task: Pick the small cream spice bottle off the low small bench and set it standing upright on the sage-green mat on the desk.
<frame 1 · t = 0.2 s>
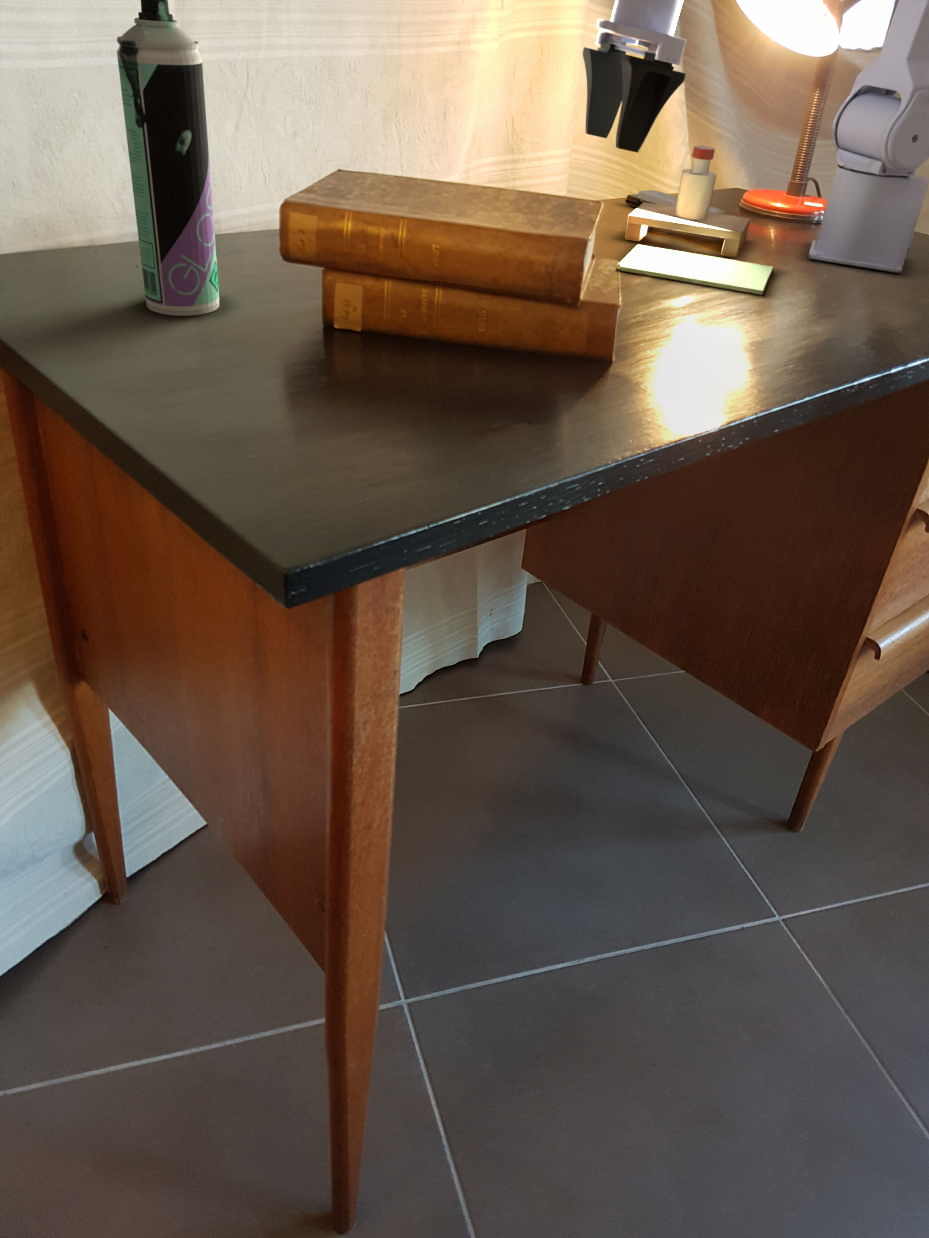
hand: (610, 143, 89), 10 cm above the table, tool pointing down, fingers open, 7 cm apart
spray can: (183, 307, 74), on the table
mat: (695, 270, 94), on the table
spice bottle: (690, 216, 103), point 2 cm above the table, touching small bench
harmonica: (675, 219, 114), on the table
small bench: (685, 240, 104), on the table
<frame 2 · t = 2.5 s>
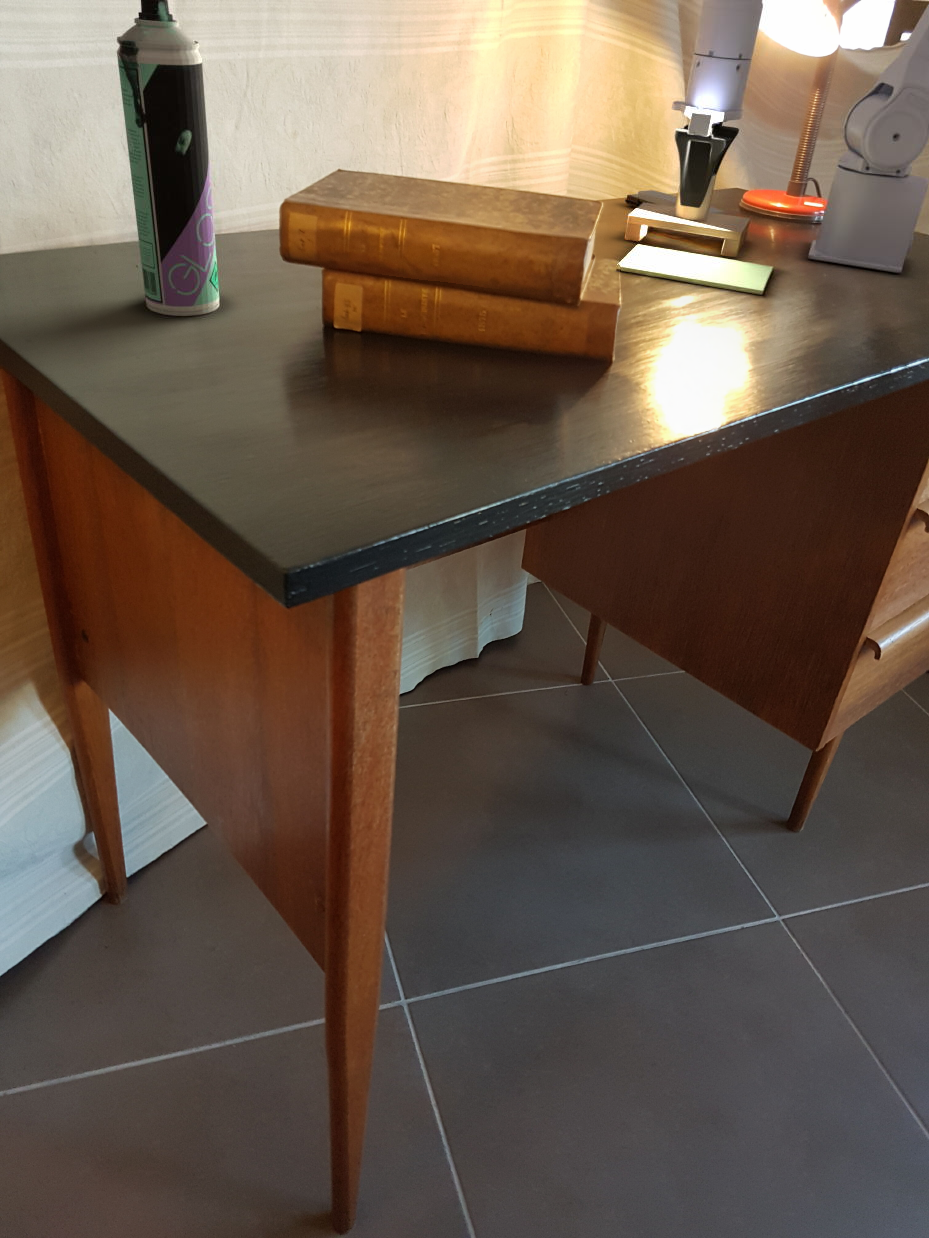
hand: (693, 203, 102), 4 cm above the table, tool pointing down, fingers closed on spice bottle, 3 cm apart
spice bottle: (690, 216, 103), point 3 cm above the table, touching gripper, small bench
everything else where it was.
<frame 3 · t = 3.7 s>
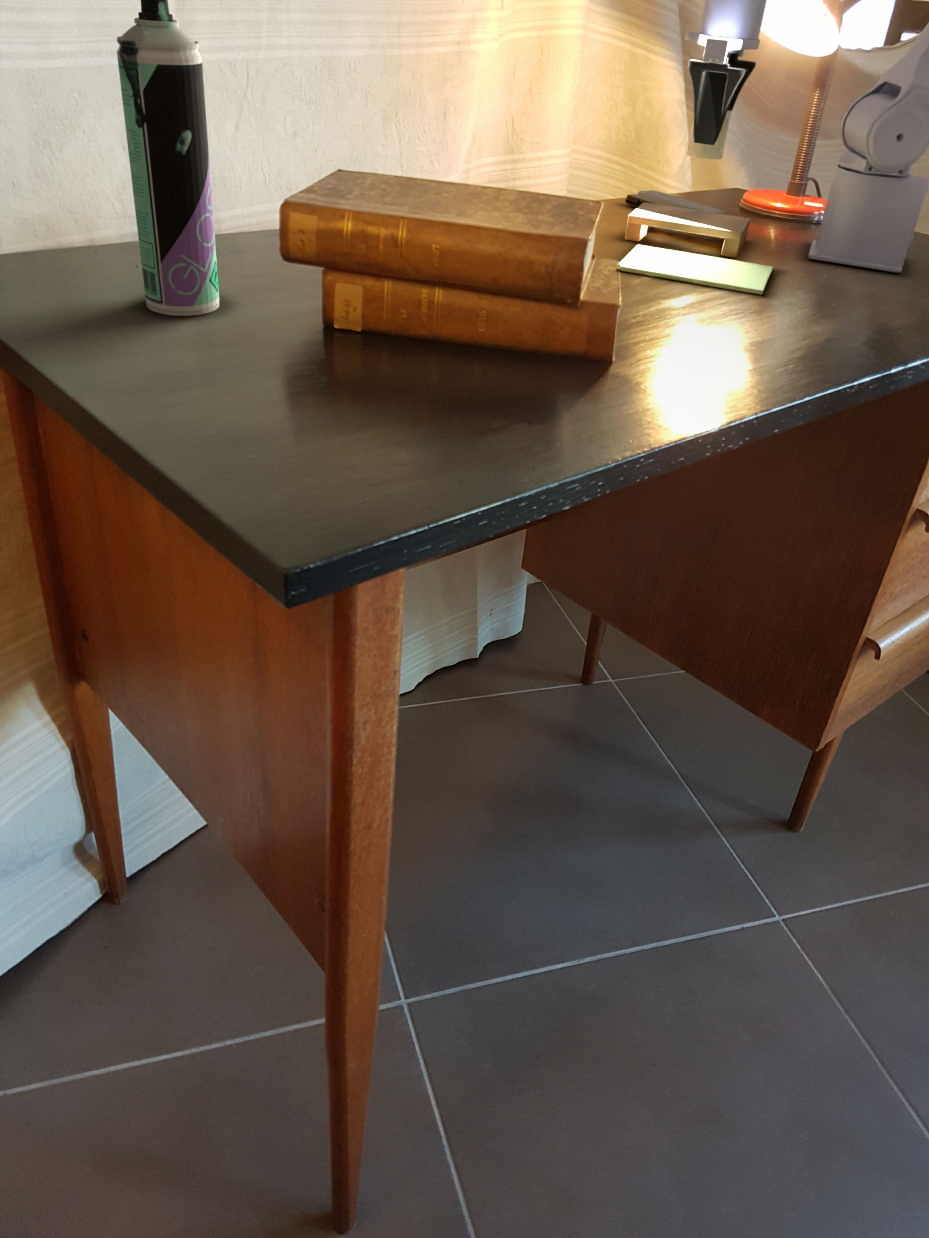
hand: (707, 141, 97), 10 cm above the table, tool pointing down, fingers closed on spice bottle, 3 cm apart
spice bottle: (704, 156, 98), point 9 cm above the table, touching gripper
everything else where it was.
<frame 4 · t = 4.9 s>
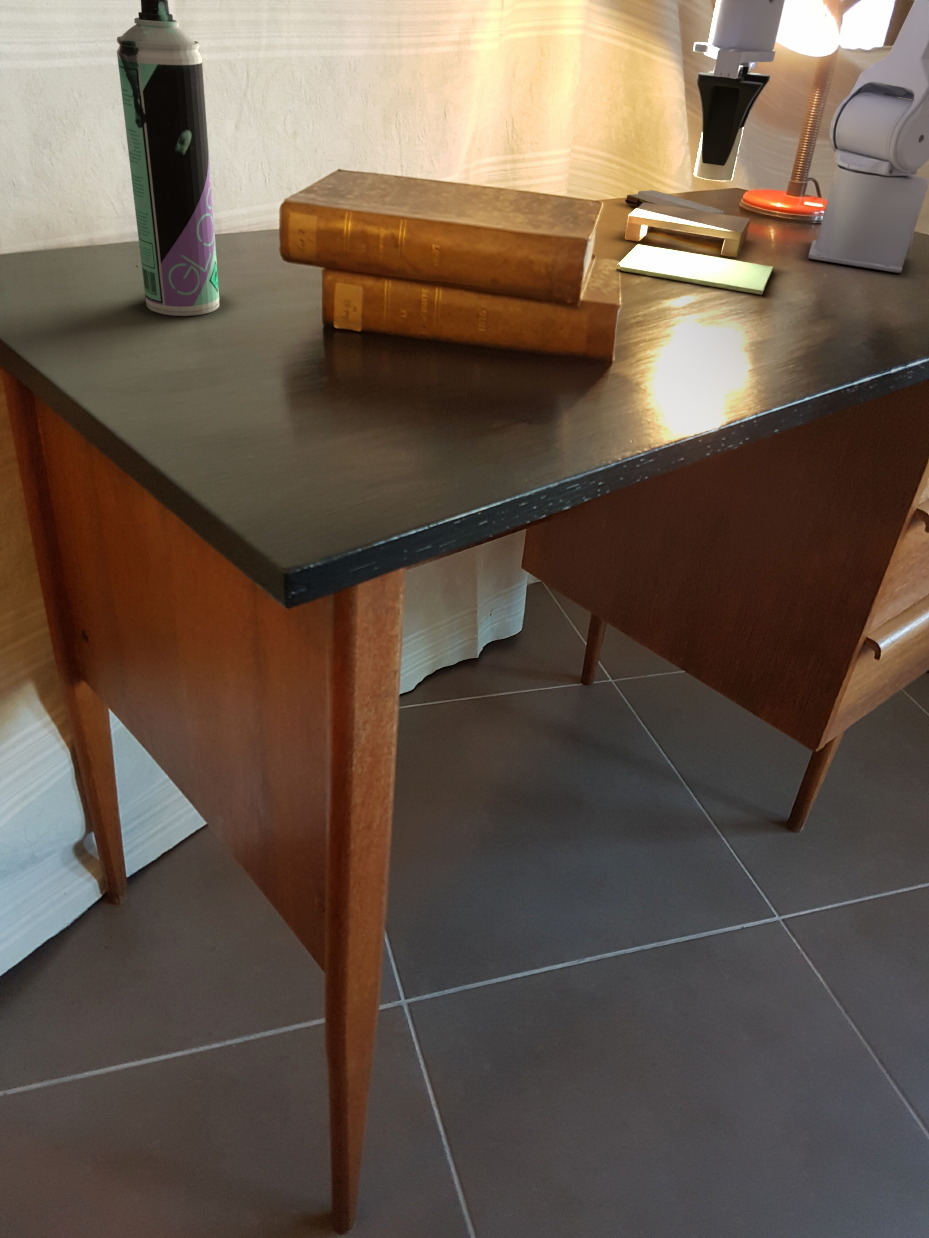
hand: (716, 161, 89), 10 cm above the table, tool pointing down, fingers closed on spice bottle, 3 cm apart
spice bottle: (712, 177, 90), point 8 cm above the table, touching gripper
everything else where it was.
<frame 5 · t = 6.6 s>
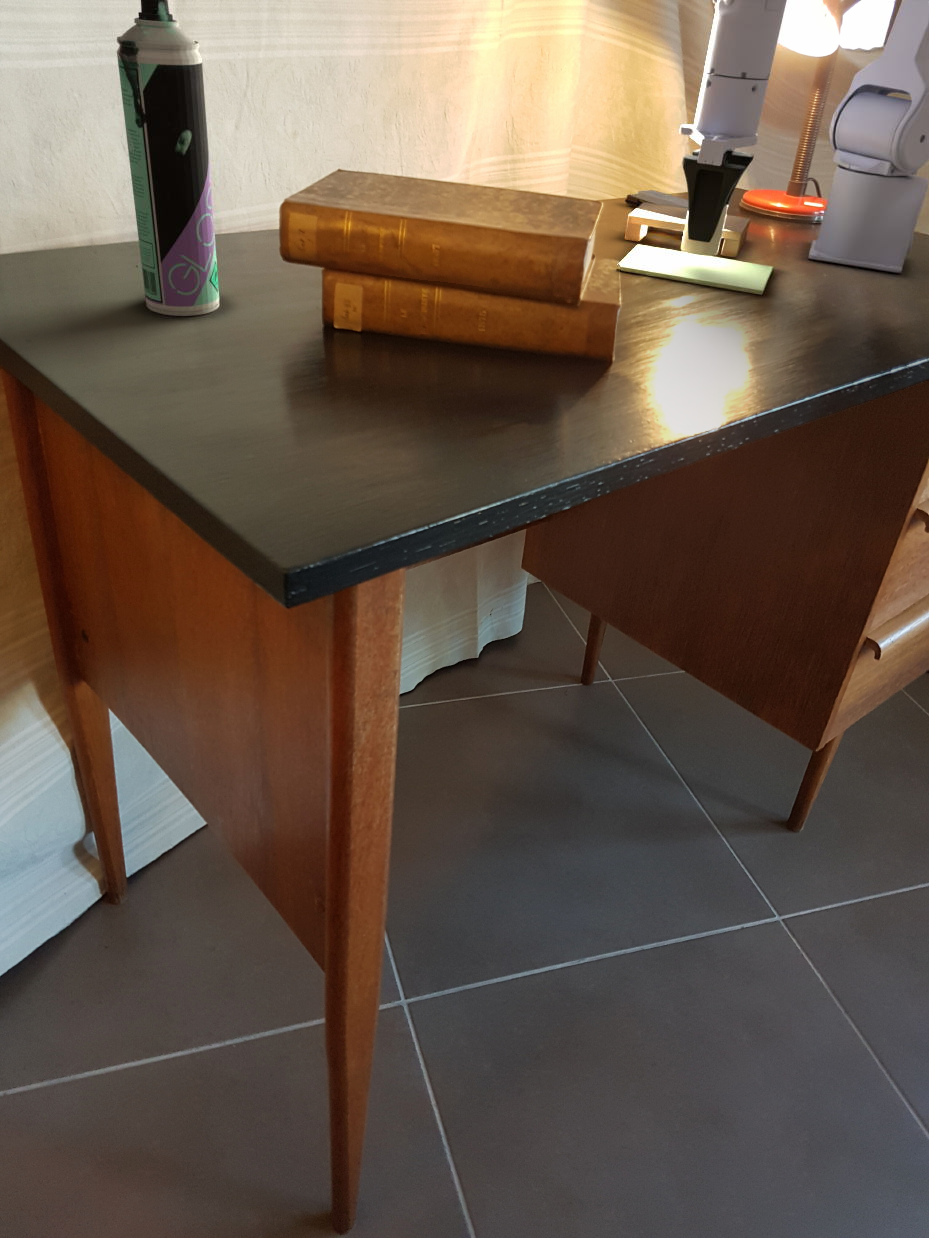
hand: (702, 236, 92), 3 cm above the table, tool pointing down, fingers closed on spice bottle, 3 cm apart
spice bottle: (699, 251, 93), point 2 cm above the table, touching gripper
everything else where it was.
when the fingers open (2 cm above the table, at t = 7.5 s): spice bottle stays where it is, resting on mat.
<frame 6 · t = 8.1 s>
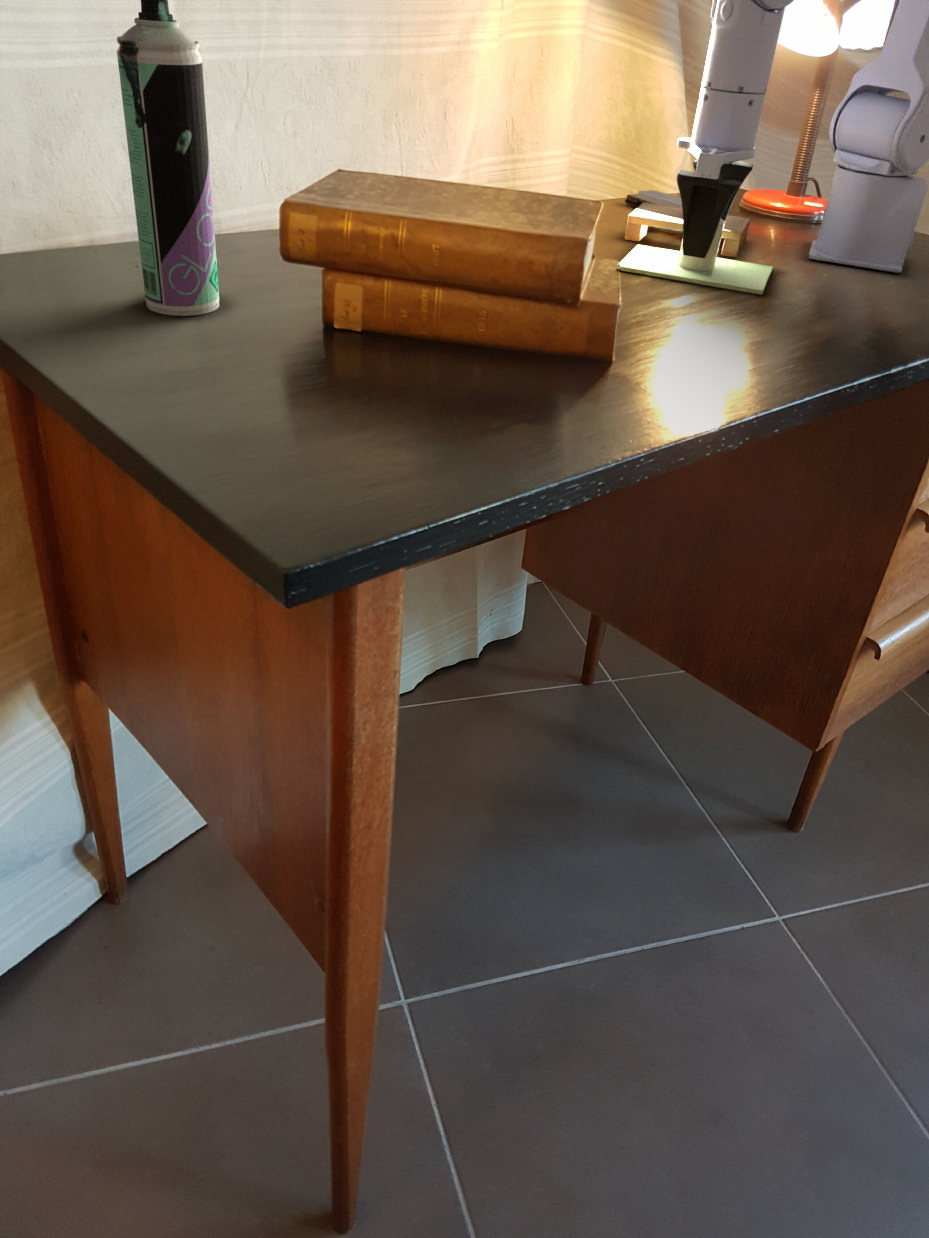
hand: (700, 247, 93), 2 cm above the table, tool pointing down, fingers open, 7 cm apart
spice bottle: (695, 266, 94), resting on mat
everything else where it was.
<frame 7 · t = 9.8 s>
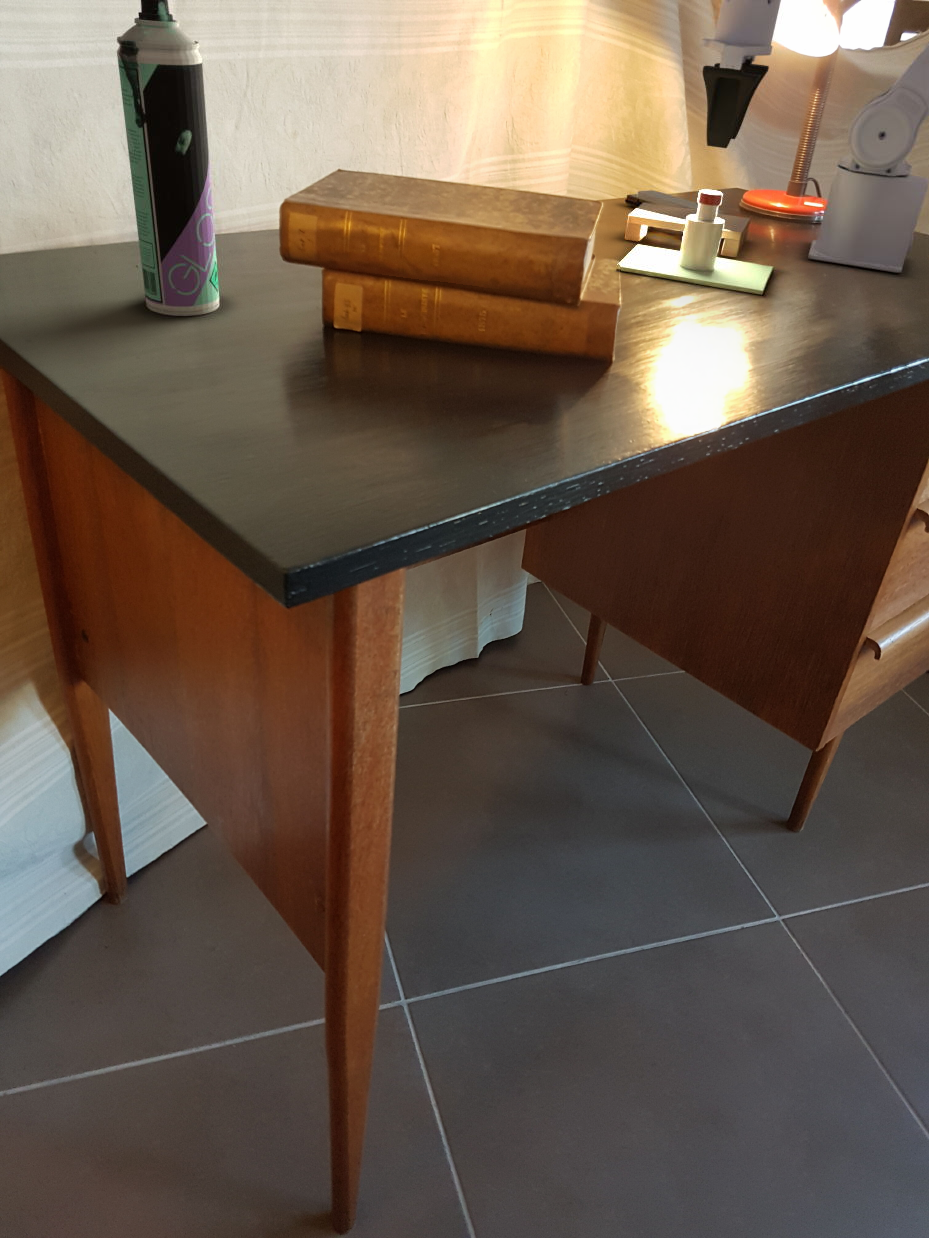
hand: (721, 142, 102), 9 cm above the table, tool pointing down, fingers open, 7 cm apart
nothing on the table moved.
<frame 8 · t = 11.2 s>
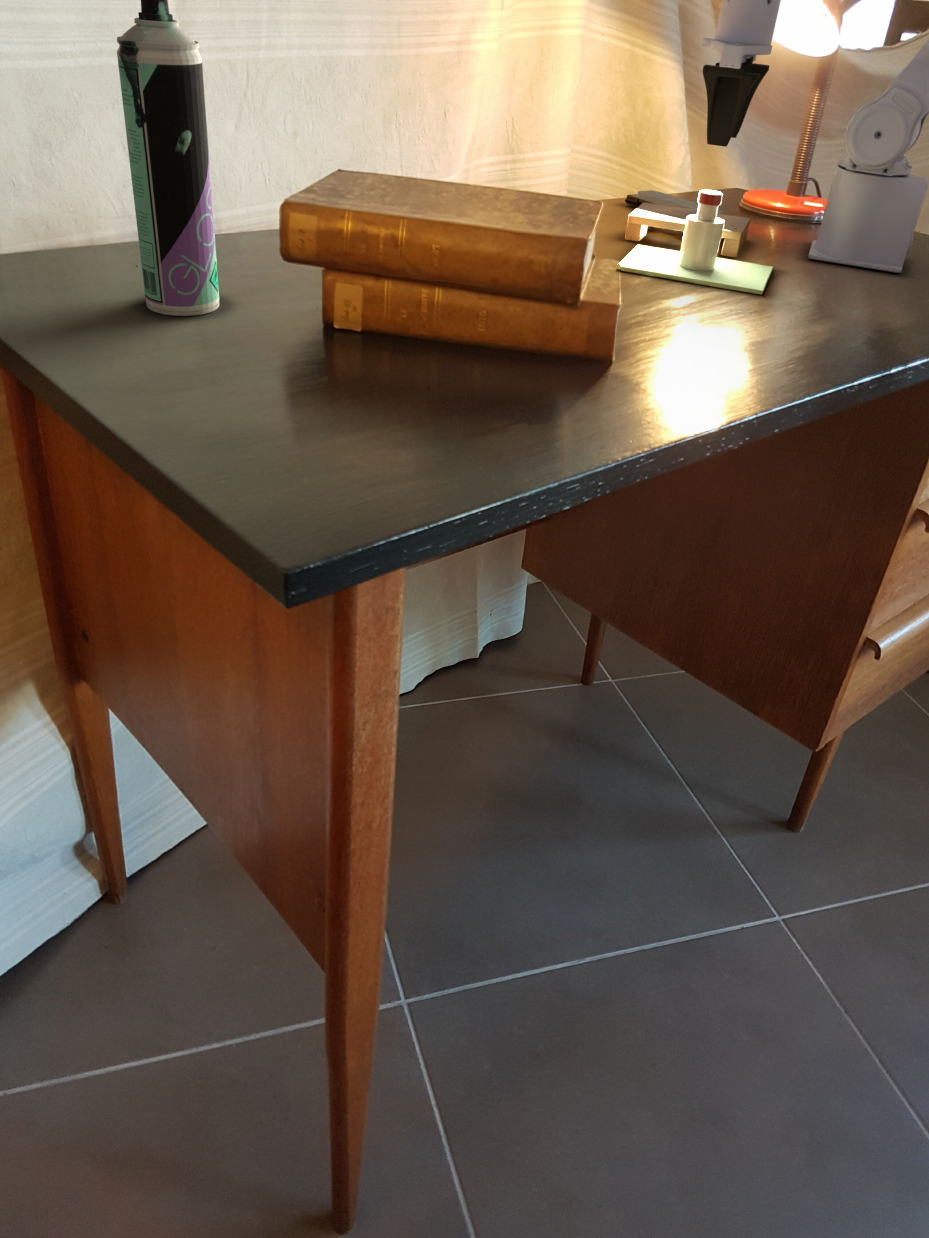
hand: (722, 141, 103), 9 cm above the table, tool pointing down, fingers open, 7 cm apart
nothing on the table moved.
at the end: spice bottle inside the target area on the mat (0.1 cm from its centre), point 0.4 cm above the mat's base; spice bottle tilted 0°; the gripper is holding nothing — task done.
